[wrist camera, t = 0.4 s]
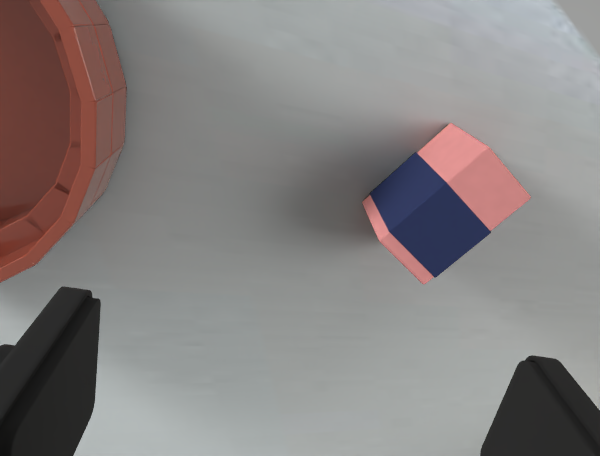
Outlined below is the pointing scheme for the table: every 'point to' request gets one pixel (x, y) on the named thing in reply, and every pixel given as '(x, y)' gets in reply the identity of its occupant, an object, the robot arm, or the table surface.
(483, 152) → the eraser
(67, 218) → the bowl
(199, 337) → the table surface
